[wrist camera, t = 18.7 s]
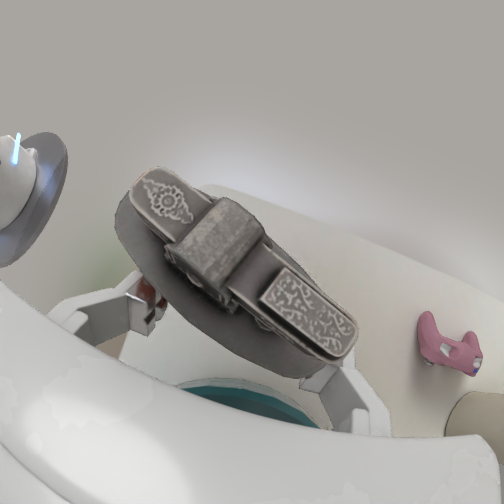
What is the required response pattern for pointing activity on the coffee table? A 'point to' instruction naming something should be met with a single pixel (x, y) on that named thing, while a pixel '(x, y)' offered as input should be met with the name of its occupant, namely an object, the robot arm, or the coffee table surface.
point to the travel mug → (480, 419)
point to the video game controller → (448, 347)
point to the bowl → (250, 399)
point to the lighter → (231, 277)
